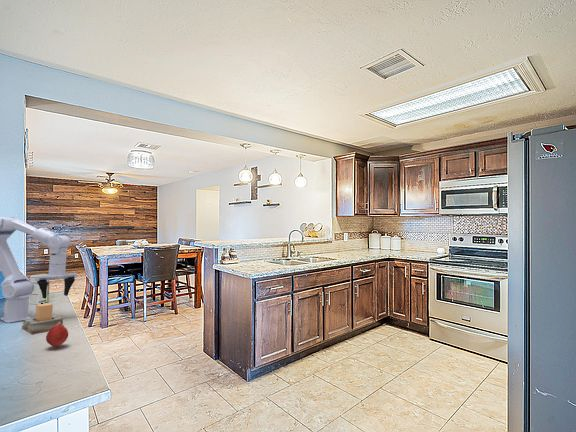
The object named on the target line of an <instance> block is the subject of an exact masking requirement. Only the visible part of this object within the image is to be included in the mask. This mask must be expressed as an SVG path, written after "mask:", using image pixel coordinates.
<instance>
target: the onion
mask: <svg viewBox="0 0 576 432" xmlns="http://www.w3.org/2000/svg"><path fill="white" fill-rule="evenodd" d="M45 336H46V337H45V341H46V343H47V344H48V345H49V346H52V347H54V348H60V346H62V344H64V343H65V342H66V341H67V340H68V337H69V330H68V329H67V327H65V325H64V326H62V325H61V323H60V322H59V323H57V324H56V325H55V326H54V327H52V328H51V329H50V330H49V331H47V333H46V335H45Z"/></svg>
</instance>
